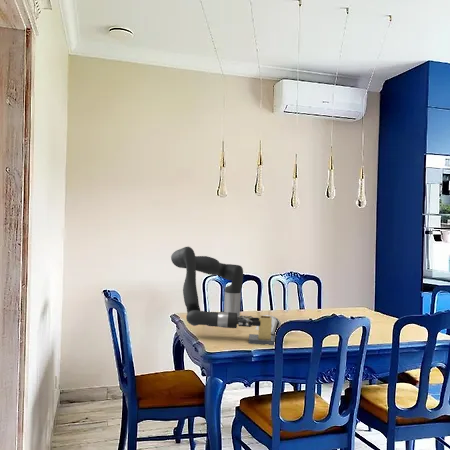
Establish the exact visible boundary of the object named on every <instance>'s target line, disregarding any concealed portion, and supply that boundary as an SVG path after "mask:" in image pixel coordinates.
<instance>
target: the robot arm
mask: <svg viewBox="0 0 450 450" xmlns="http://www.w3.org/2000/svg"><path fill="white" fill-rule="evenodd" d="M170 258H171V262H172V264H173V265H174V266H175V267H177V268H179V269H186V274H185V278H184V282H183V287H182V296H183V301H184V302H183V303H184V305H185V307H186V313H187V314H186V317H185V318H186V321H187V323H188V324H189V325H191V326H193V327H195V326H196V327H197V326H199V325H200V326H207V327H215V328H216V327H218V328H225V329H226V328H227V329H237V328H238V327H245V328H251V327H256V326H260V323H261V322H260V321H259V317H253V316H252V315H250V316H249V315H241V297H242V296H241V293H242V289H243V282H244V281H243V280H244V268H243V267H242V265H239V264H231V263H230V264H229V263H222V262H220V261H219V260H218V259H217V258H214V257H211V256H208V255H198V256H197V255H196V253H195V251H194V249H193V248H192V247H191V246H184V247H182V248H179V249H176V250H175V251H173V253H171V256H170ZM197 272H199V273H203V274H205V275H210V276H218V277H221V278H222V279H224V280H228V281H231V284H230V285H227V286H225V288H224V303H223V304H224V307H223V311H219V312H218V311H217V312H216V311H206V310H201V307H200V303H199V302H200V301H199V296H198V289H197Z"/></svg>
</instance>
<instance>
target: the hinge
mask: <svg viewBox="0 0 450 450" xmlns="http://www.w3.org/2000/svg"><path fill="white" fill-rule="evenodd" d="M262 316H271V317H272V324H271V335H273V336H276V335H275V332H276V330H277V328H278V327H279V326H280V327H281V325H282V322H281V321H280V319H279V318H277V317H275V316H274V315H270V314H264V315H262ZM255 330H257V331H258V330H259V326H255Z"/></svg>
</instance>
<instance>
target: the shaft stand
mask: <svg viewBox="0 0 450 450" xmlns="http://www.w3.org/2000/svg"><path fill="white" fill-rule="evenodd" d="M275 336H276V335H273V334H271V339H258V334H255V333H253V334H252V333H249V336H248V344H249V345H251V344H253V345H265V344H269V345H268V346H275V345H274V342H275Z"/></svg>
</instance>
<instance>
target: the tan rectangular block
mask: <svg viewBox="0 0 450 450" xmlns="http://www.w3.org/2000/svg"><path fill="white" fill-rule="evenodd" d="M271 316H272V315H271ZM271 316H263V315H258V318H259V321H260V322H261V323H260V326H259V331H258V334H257V335H258V339H271V335H272V334H271V324H272V317H271Z"/></svg>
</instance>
